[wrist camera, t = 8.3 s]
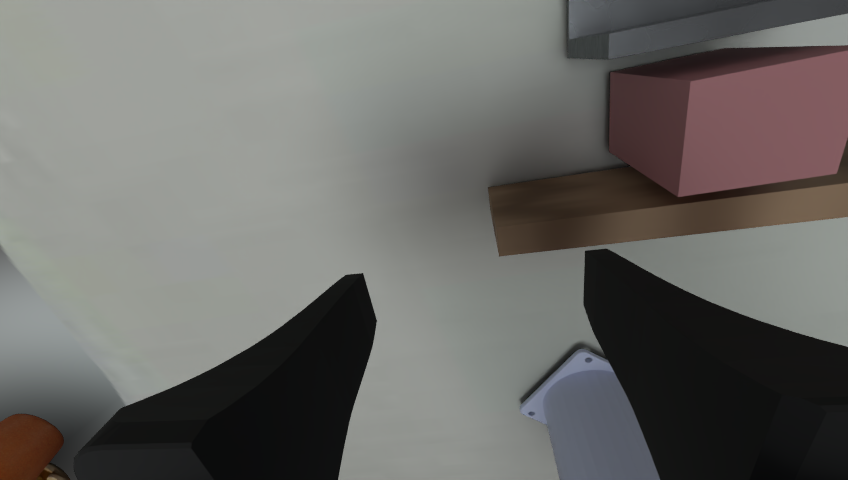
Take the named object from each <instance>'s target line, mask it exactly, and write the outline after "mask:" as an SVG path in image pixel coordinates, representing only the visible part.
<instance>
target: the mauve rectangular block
mask: <svg viewBox="0 0 848 480" xmlns="http://www.w3.org/2000/svg"><path fill="white" fill-rule="evenodd" d="M847 138H848V45H846V46H803V47H760V48H723V49H718V50H713V51H709V52H704V53H699V54H694V55H690V56H685V57H680V58H675V59H670V60H666V61H661V62H656V63H651V64H647V65H642V66H637V67H632V68H627V69H623V70H618V71H613V72H610V126H609V152H610V153H612V154H613V155H615V156H616V157H618V158H619V159H621V160H622V161H624V162H625V163H627V164H628V165H630V166H631V167H633V168H635V169H636V170H638V171H639V172H641V173H642V174H644V175H645V176H647V177H648V178H650V179H651V180H653V181H654V182H656V183H657V184H659V185H660V186H662V187H663V188H665V189H666V190H668V191H669V192H671V193H673V194H674V195H676V196H677V197H682V196H689V195H696V194H702V193H709V192H716V191H723V190H729V189H736V188H743V187H750V186H756V185H763V184H770V183H777V182H783V181H790V180H797V179H804V178H810V177H817V176H824V175H831V174H837V171H838V168H839V165H840V161H841V158H842V155H843V152H844V148H845V145H846V142H847Z"/></svg>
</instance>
